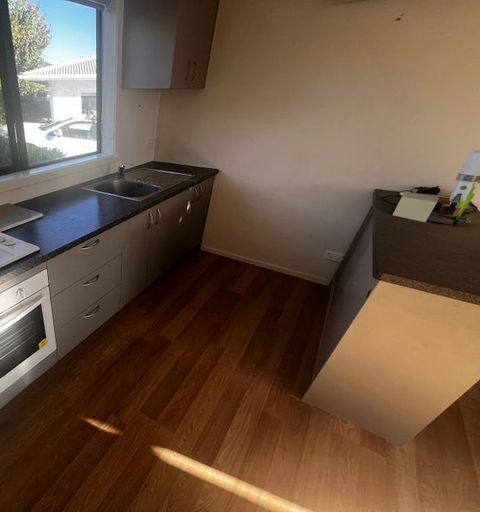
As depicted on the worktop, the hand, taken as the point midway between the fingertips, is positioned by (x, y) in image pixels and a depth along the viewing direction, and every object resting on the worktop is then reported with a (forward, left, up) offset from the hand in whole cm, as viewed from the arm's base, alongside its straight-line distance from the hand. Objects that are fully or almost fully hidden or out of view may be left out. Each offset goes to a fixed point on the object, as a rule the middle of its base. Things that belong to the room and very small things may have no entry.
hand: (448, 212), depth 148 cm
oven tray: (0, 0, -4) cm, 4 cm away
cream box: (+8, -10, -5) cm, 13 cm away
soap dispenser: (-14, -7, -5) cm, 17 cm away
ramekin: (0, 0, -1) cm, 1 cm away
